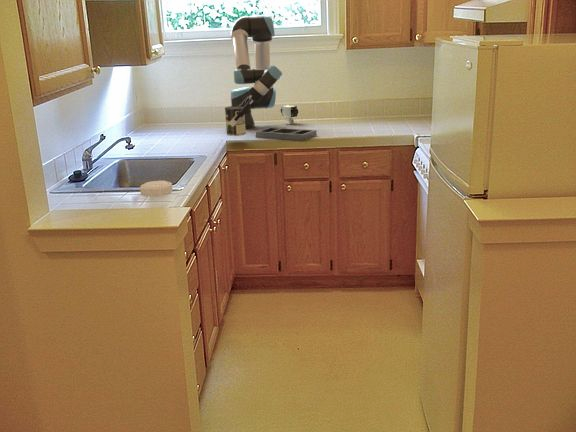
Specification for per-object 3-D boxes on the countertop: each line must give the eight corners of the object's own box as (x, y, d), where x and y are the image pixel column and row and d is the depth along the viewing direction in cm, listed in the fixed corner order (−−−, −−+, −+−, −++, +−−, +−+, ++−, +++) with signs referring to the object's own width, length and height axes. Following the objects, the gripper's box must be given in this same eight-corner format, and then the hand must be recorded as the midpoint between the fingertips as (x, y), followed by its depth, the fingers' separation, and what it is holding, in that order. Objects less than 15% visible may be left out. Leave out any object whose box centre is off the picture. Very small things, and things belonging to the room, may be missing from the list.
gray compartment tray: (255, 137, 336) (255, 131, 335) (270, 132, 348) (270, 127, 347) (303, 140, 321) (302, 135, 320) (316, 135, 333) (316, 130, 332)
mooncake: (174, 187, 239) (173, 179, 238) (170, 196, 227) (169, 186, 226) (144, 189, 238) (143, 180, 237) (138, 197, 227) (136, 188, 226)
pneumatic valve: (293, 125, 369) (292, 105, 365) (280, 123, 378) (280, 103, 374) (300, 124, 372) (299, 104, 369) (287, 122, 381) (286, 102, 377)
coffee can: (226, 136, 317) (224, 109, 312) (226, 132, 326) (224, 106, 322) (246, 135, 317) (244, 108, 313) (245, 131, 327) (244, 105, 323)
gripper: (250, 83, 326) (223, 114, 329) (255, 88, 305) (225, 122, 308) (260, 93, 328) (233, 124, 331) (266, 98, 307) (236, 131, 310)
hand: (229, 123), depth 319 cm, fingers closed on coffee can, 10 cm apart
